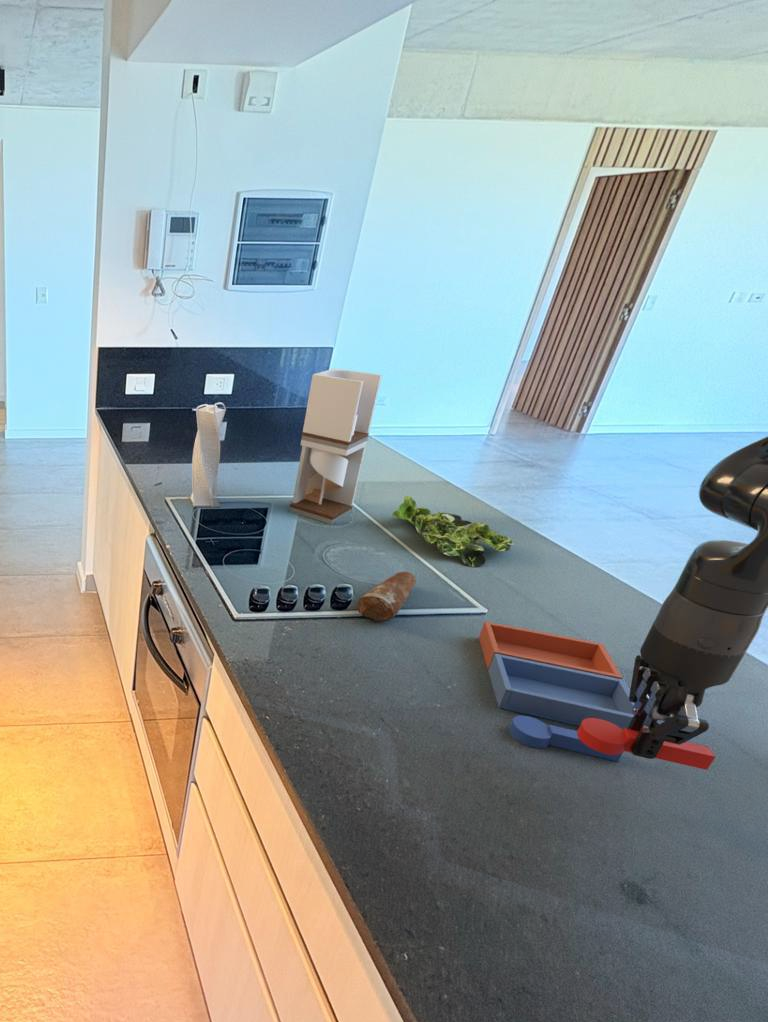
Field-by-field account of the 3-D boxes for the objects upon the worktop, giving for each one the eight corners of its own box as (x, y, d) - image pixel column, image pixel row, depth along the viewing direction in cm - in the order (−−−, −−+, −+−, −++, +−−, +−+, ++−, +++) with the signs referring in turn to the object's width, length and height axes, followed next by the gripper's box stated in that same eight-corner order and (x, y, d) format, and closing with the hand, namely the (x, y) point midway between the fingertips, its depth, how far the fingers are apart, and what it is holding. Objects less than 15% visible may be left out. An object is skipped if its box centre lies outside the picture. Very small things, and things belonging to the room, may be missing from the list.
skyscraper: (221, 509, 161) (234, 403, 149) (190, 509, 162) (200, 404, 149) (214, 497, 169) (225, 395, 156) (184, 497, 169) (193, 395, 157)
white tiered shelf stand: (288, 510, 160) (312, 374, 144) (309, 500, 166) (334, 368, 150) (331, 524, 152) (361, 381, 137) (351, 512, 158) (381, 374, 143)
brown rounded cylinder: (352, 617, 116) (358, 592, 113) (391, 581, 127) (398, 557, 125) (387, 631, 111) (394, 605, 109) (424, 592, 123) (432, 568, 120)
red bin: (594, 661, 103) (602, 643, 101) (613, 696, 95) (623, 678, 94) (478, 637, 109) (484, 621, 108) (487, 669, 101) (494, 651, 100)
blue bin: (614, 698, 95) (623, 679, 93) (637, 740, 87) (647, 720, 85) (487, 670, 101) (494, 653, 99) (498, 707, 93) (506, 689, 92)
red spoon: (695, 751, 76) (703, 738, 75) (713, 779, 72) (721, 765, 71) (572, 724, 80) (578, 711, 79) (582, 748, 76) (589, 735, 76)
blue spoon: (610, 746, 86) (616, 734, 85) (621, 769, 82) (628, 757, 81) (506, 721, 91) (510, 709, 90) (512, 742, 87) (517, 730, 86)
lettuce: (461, 570, 130) (475, 540, 127) (368, 519, 150) (378, 492, 147) (517, 564, 136) (532, 536, 133) (421, 517, 157) (432, 491, 154)
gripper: (780, 677, 61) (702, 800, 69) (715, 608, 72) (655, 720, 80) (682, 660, 64) (618, 779, 72) (634, 596, 75) (583, 705, 83)
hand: (638, 748), depth 76 cm, fingers closed on red spoon, 2 cm apart
